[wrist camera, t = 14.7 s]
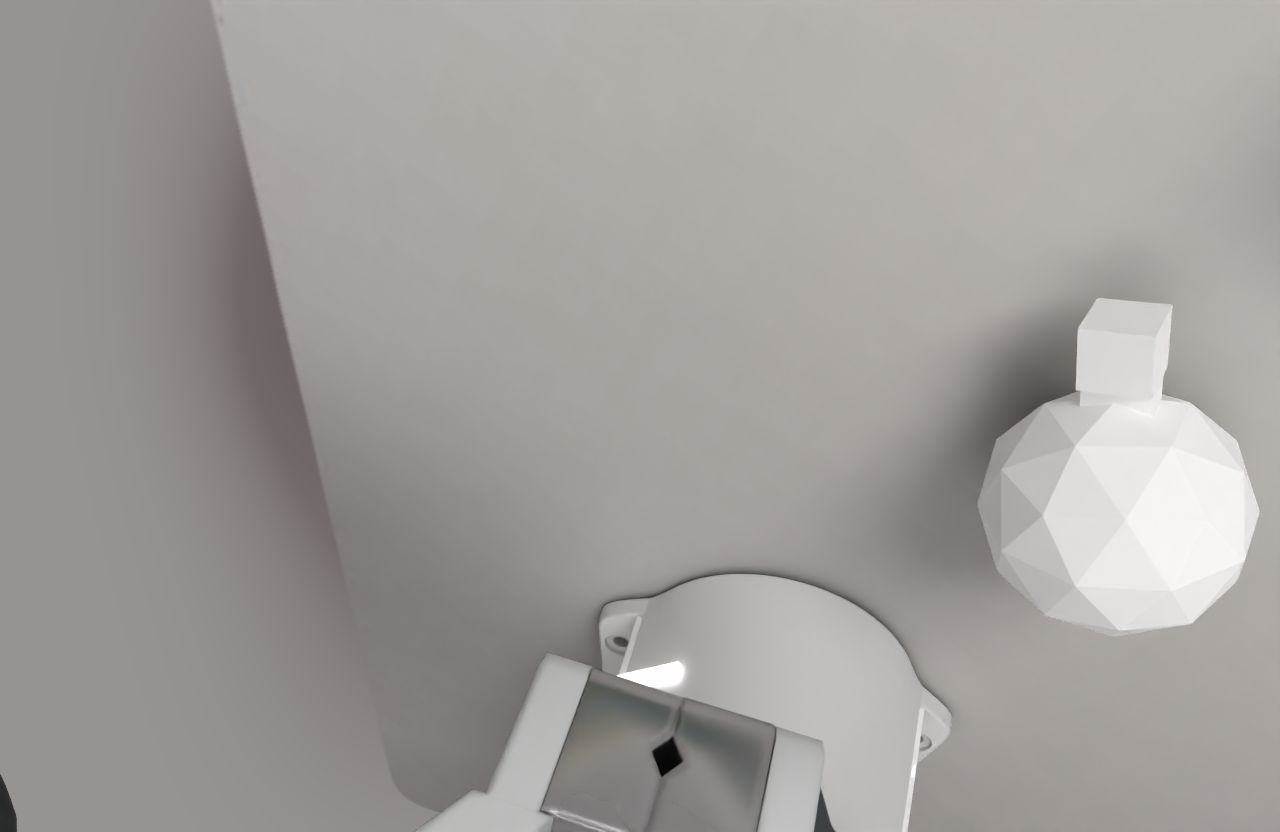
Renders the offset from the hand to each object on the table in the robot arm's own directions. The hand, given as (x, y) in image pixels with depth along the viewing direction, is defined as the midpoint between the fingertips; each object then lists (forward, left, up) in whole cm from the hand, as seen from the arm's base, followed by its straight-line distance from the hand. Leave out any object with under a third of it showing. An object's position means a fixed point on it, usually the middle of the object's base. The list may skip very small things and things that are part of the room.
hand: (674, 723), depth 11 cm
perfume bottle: (-14, -13, -28) cm, 34 cm away
